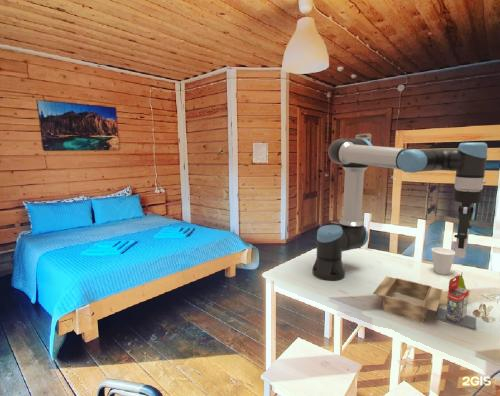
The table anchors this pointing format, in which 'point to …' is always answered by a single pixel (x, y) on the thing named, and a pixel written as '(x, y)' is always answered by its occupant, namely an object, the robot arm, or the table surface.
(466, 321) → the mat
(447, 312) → the ink box
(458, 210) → the robot arm
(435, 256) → the cup
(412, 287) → the carton
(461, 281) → the fruit
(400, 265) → the table surface
